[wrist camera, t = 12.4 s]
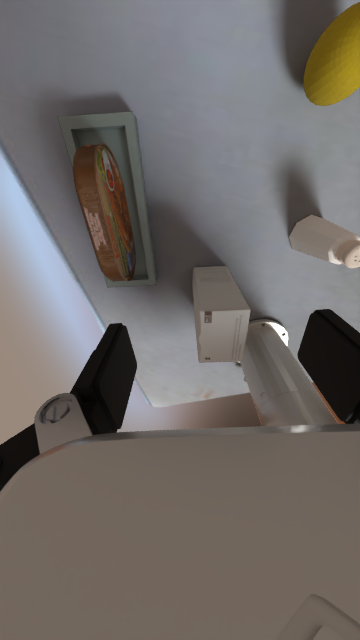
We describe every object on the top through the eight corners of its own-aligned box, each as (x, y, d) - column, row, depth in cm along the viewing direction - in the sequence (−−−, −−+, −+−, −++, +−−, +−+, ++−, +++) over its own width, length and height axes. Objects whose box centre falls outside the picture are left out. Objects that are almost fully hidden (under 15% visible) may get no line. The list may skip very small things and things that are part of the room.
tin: (139, 268, 32) (129, 292, 26) (120, 269, 33) (105, 293, 26) (117, 148, 24) (93, 135, 17) (91, 149, 24) (57, 137, 17)
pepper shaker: (312, 205, 28) (375, 217, 19) (332, 230, 30) (398, 251, 21) (281, 237, 31) (324, 261, 22) (301, 258, 33) (348, 288, 24)
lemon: (343, 97, 22) (413, 63, 16) (292, 125, 23) (337, 104, 17) (345, 21, 19) (433, -61, 13) (287, 57, 20) (338, 0, 14)
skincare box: (223, 305, 38) (244, 364, 26) (191, 306, 38) (198, 366, 26) (226, 262, 33) (255, 310, 21) (190, 264, 33) (198, 313, 21)
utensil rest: (156, 278, 34) (155, 284, 32) (111, 281, 35) (107, 287, 33) (136, 117, 23) (132, 111, 21) (68, 122, 23) (57, 116, 21)
